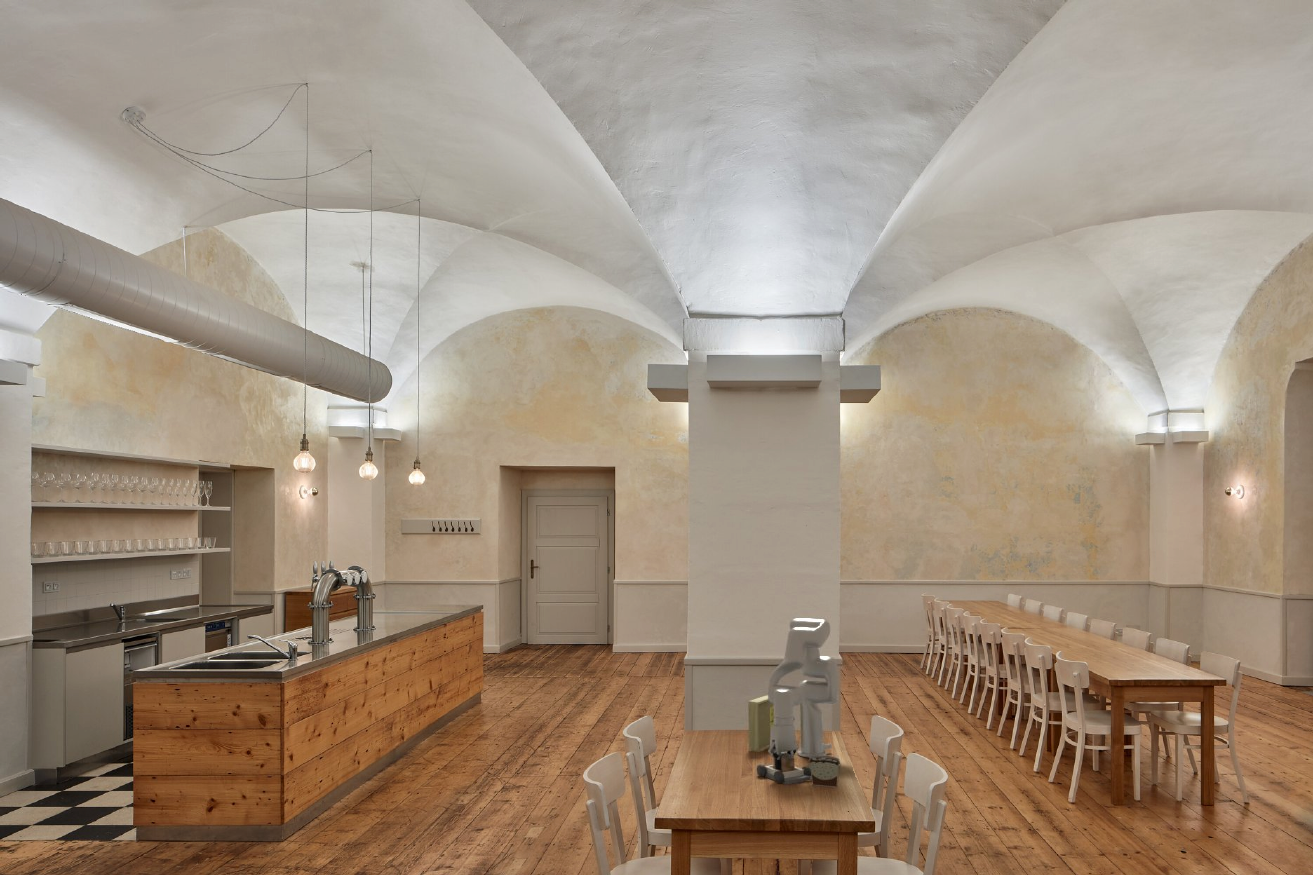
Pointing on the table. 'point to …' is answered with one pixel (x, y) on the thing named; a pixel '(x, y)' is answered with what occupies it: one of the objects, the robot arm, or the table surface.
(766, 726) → the flat product box
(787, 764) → the grey block on wood
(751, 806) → the table surface
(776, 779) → the chassis
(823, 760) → the food container
